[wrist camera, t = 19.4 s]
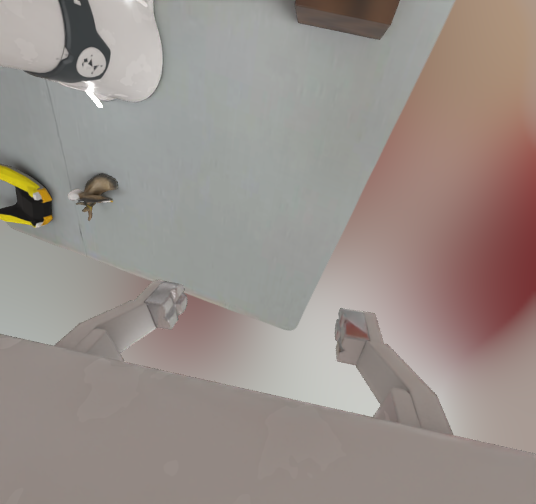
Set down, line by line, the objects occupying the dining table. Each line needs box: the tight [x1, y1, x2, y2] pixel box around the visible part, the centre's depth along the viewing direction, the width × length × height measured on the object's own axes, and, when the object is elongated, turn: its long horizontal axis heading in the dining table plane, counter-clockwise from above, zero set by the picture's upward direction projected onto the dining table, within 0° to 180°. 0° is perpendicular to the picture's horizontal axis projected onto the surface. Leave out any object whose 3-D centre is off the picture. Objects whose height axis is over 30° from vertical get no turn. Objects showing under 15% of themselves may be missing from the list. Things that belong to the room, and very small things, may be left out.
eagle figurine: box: [68, 174, 118, 221], centre depth 46 cm, size 8×7×9 cm
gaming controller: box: [0, 164, 53, 228], centre depth 51 cm, size 15×6×10 cm
